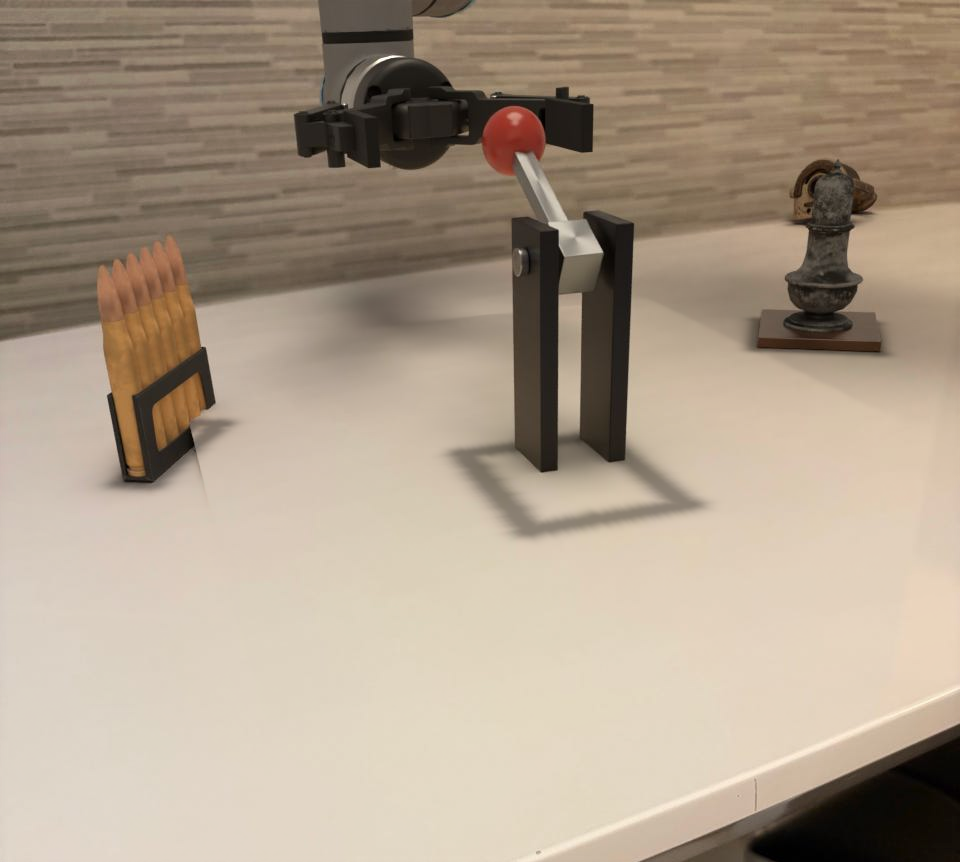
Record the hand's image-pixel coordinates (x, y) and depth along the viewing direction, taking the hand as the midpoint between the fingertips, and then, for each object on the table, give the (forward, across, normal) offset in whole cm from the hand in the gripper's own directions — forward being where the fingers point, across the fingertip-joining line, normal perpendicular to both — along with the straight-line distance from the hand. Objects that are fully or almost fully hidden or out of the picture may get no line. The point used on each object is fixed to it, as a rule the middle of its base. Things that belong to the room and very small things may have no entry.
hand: (483, 135), depth 65 cm
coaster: (-6, -29, -17) cm, 34 cm away
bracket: (+14, 0, -17) cm, 22 cm away
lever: (+9, 0, -4) cm, 10 cm away
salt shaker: (-6, -29, -16) cm, 34 cm away
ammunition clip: (+1, +21, -17) cm, 27 cm away
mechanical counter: (-51, -60, -17) cm, 81 cm away
